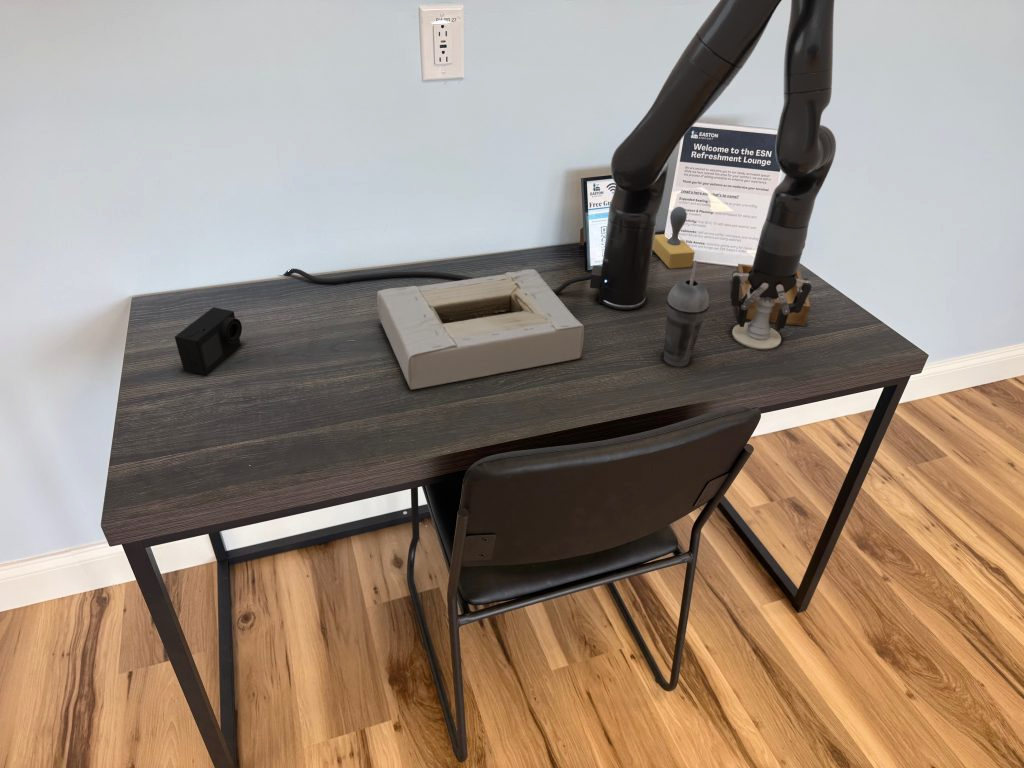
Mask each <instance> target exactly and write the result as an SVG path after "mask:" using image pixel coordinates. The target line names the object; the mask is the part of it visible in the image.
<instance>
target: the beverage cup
mask: <svg viewBox="0 0 1024 768" xmlns="http://www.w3.org/2000/svg"><path fill="white" fill-rule="evenodd" d="M697 266H698V260H696V259H694V260H693V264H692V270H691V275H690V279H683V280H681V281H679V282H676V284H675V285H674V286H673V287H671V289H670V291H669V292H668V295H667V297H666V299H665V303H666V324H665V334H664V347H663V360H664V362H665V363H667V364H668V365H670V366H674V367H684V366H687V365H688V364H689V363H690V359H691V357H692V356H693V351H694V349H695V347H696V343H697V339H698V336H699V333H700V331H701V328H702V324H703V321H704V319H705V317H706V315H707V313H708V310H709V309H710V296H709V292H708V290H707V289H706V287H705V286H704V284H702V283H701V282H699V281H697V280H695V276H696V275H695V274H696V270H697Z"/></svg>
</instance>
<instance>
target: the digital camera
mask: <svg viewBox="0 0 1024 768" xmlns="http://www.w3.org/2000/svg"><path fill="white" fill-rule="evenodd" d="M242 332H243V325H242V322H241V320H240V319H239V318H236V316H235V312H234V310H229V309H225V308H220V307H212V308H210V309H209V310H207V311H206V312H205V313H203V314H202V315H201V316H200V317H198V318H197V319H196V320H194V321H193V322H191V324H189V325H188V326H187V327H185V328H184V329H183V330H181V331H180V332H179V333H177V334H176V335H175V336H174V340H175V343H176V347H177V350H178V355H179V358H180V362H181V365H182V368H183V371H184V372H187V373H193V374H198V375H202V376H206V375H208V374H210V372H211V371H212V370H214V369H215V368H216V367H217V366H218V365H219V364H221V363H222V362H223V361H224V360H225V359H226V358H227V357H229V356H230V355H231V354H232V353H234V351H235V350H237V349H238V348H239V347H240V346H241V345H242V343H241V339H240V338H241V336H242Z"/></svg>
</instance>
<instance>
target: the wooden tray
mask: <svg viewBox="0 0 1024 768" xmlns="http://www.w3.org/2000/svg"><path fill="white" fill-rule="evenodd" d="M752 267H753V264H744V263H737V267H736V270H735V271H738V272H739V273H748V272H749V271H750V270H751V269H752ZM796 278H797V279H801V280H803V276H802V273H801V270H799V269H797V273H796ZM750 286H751V285H750V283H749V281H748V280H746V281H745V282H744V284H743V285H742V286H740V288H739V297H740V298H742V297H743V296H744V295H745V294H746V292H747V290H748V289H749V288H750ZM796 287H797V286H796V285H795V286H794V287H793V288H791V289H790V290H789V291H788V292H786V293H785V295H786V299H787V303H788V304H789V303H793V301H794V298H795V296H796V294H797V292H798V291H797V288H796ZM759 298H760V297H758V298H757V299H759ZM757 299H756V301H755V302H753V303H752V304H751V305H750V306H749V307H748V308H747V309H748V312H747V316H746V320H750V321H752V320H753V319H754V317H755V314H756V312H757V308H756V307H757V306H758V305H759V304H758V302H757ZM774 301H775V305H774V306H773V307H772V308H771V309H772V312H770V316H769V323H774V324H775V323H776V319H777V316H778V312H779V309H781V304H780V301H779V298H777V299H774ZM736 307H737V311H738V310H739V307H738V306H736ZM811 308H812V306H811V302H810V299H809V295H808V296H807V298H806V301H805V303H804V305H803V307H802V309H801V311H800V312H799V313H795V312H792V313H790V314H789V315H788V317H787V321H786V324H785V325H792V326H802V327H806V323H807V320H808V317H809V314H810V311H811Z"/></svg>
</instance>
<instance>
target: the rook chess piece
mask: <svg viewBox="0 0 1024 768" xmlns="http://www.w3.org/2000/svg"><path fill="white" fill-rule="evenodd" d="M757 302H758V304H759V305H758V306H757V307H756V308H757V312H756V314H755V317H754V319H753V320H750V321H749V322H748V323H749V324H748V325H747V327H748V328H747V329H746V332H747V334H748V336H750V337H751V338H753V339H757V340H764V339H766V338H768V337H769V336H770V332H771V328H772V327H771V324H770V322H769V316H770V312H772V309H771V308H772V307H773V306H774V305H775V301H774V299H772V298H769V297H766V298H761V297H760V298H759V299H757Z"/></svg>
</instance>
